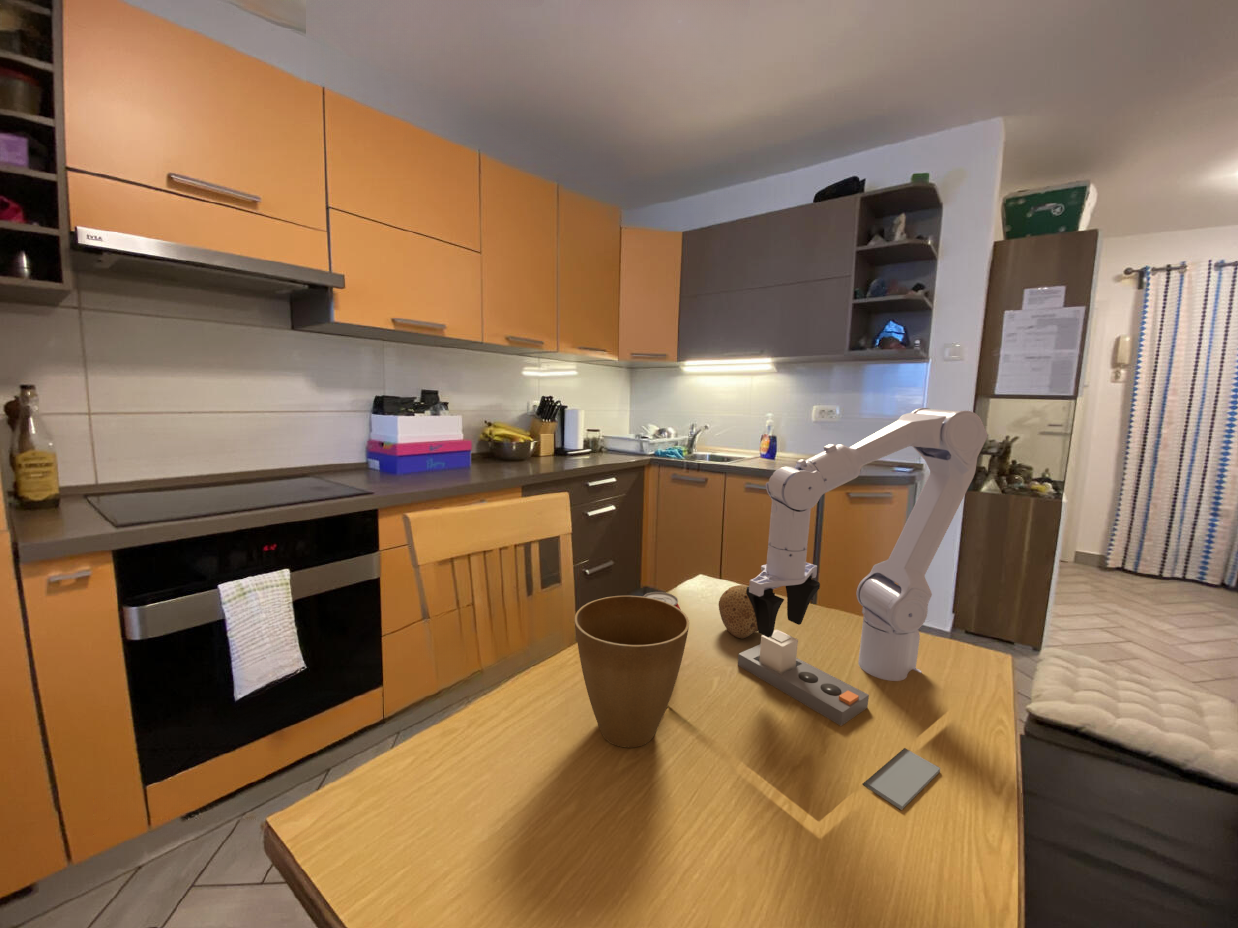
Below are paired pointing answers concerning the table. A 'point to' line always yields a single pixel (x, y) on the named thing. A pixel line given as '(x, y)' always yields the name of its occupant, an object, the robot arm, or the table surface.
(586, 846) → the table surface
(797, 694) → the power strip
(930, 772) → the mat
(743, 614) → the natural sponge
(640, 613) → the plant pot
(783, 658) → the block
